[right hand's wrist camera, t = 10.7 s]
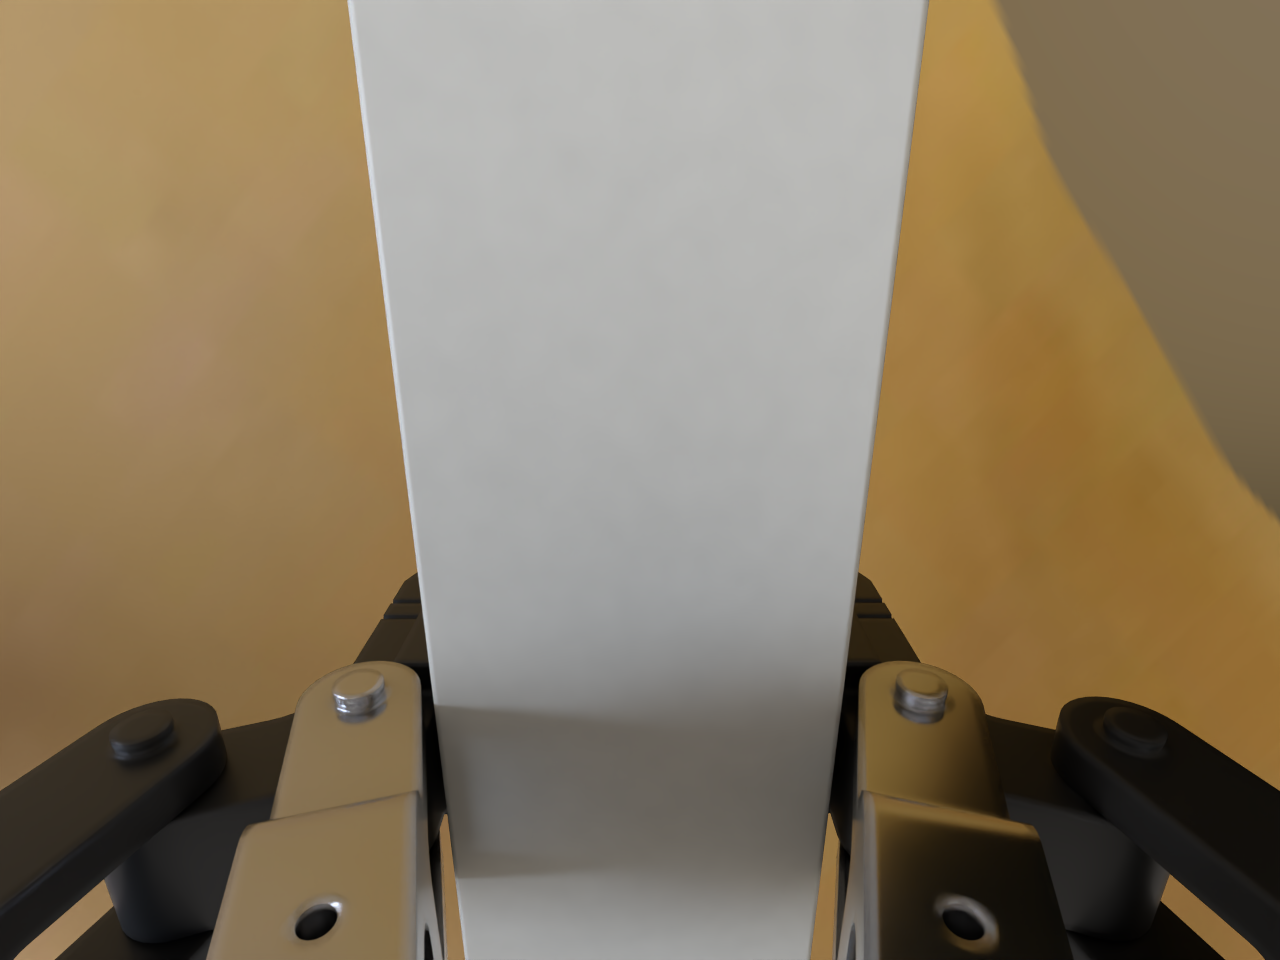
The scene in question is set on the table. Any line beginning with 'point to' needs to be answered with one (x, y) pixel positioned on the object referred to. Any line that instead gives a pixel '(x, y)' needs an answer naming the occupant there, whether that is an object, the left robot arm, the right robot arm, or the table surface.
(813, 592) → the bar
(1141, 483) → the table surface
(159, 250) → the table surface
